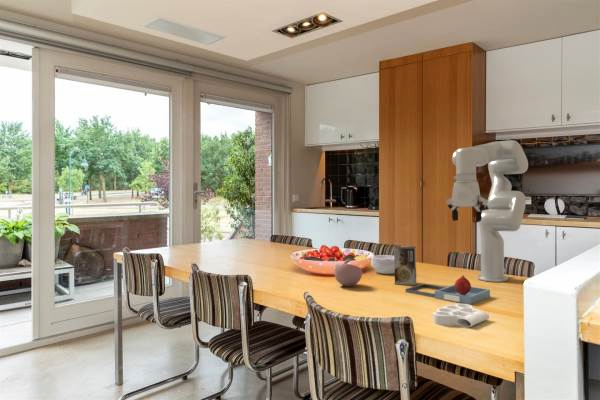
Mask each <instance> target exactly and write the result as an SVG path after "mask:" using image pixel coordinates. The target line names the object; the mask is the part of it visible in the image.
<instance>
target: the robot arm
mask: <svg viewBox="0 0 600 400" xmlns="http://www.w3.org/2000/svg"><path fill="white" fill-rule="evenodd" d="M451 161H452V164H453V165H454V166H455V167H456V170H455V172H456V174H455V175H454V176H453V180H455V181H456V182H455V181H454V183H453V187H452V194H451V195H452V196H451V197H449V198H447V199H446V200H445V203H446V204H447V207H448V209H450V211H451V218H452V221H454V222H456V221H459V211H458V210H459V207H460V208H464V207H465V208H472V207H473V208H474V209H475V210H476V211H475V222H476V223H478V226H479V233H480V274H478V275H477V279H478V280H481V281H484V282H492V283H501V282H507V281H508V280H509V279H508V276H505V273H506V272H507V270H506V268H505V246H504V244H505V241H504V238H503V236H502V235H501V234H500V232H517V231H518V230H519V229H520V228H521V225H522V222H523V217H524V214H525V211H526V203H527V202H526V201H527V200H526V199H527V198H526V195H525V194H524V193H523V192H522V191H519V190H512V187H513V186H512V183H511V181H510V180H509V179H508V178H507V177H506V176H504V175H518V174H520V175H521V174H524V173H525V172H527V171H528V168H529V161H528V158H527V156H526V154H525V151H524V149H523V147H522V145H521V144H520V143H519V142H518V141H516V140H514V139H513V140H512V139H511V140H510V139H509V140H501V141H500V140H499V141H491V142H488V143H484V144H479V145H474V146H470V147H461V148H458V149H456V150H455V151H454V152H453V153H452V157H451ZM486 165H487V168H488V172H489V173H488V174H489V177H490V181H491V188H490V191H489V194H488V198H487V199H486V198H484V197H482V196H481V192H480V186H479V182H478V181H477V167H483V166H486ZM481 202H482V204H481ZM486 207H487V208H488V209H486Z"/></svg>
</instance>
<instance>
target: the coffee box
mask: <svg viewBox="0 0 600 400" xmlns="http://www.w3.org/2000/svg"><path fill="white" fill-rule="evenodd" d="M416 250H417V249H416V246H406V245H405V246H404V245H403V246H402V245H401V246H400V245H397V246H396V245H395V246H394V248H393V256H394V271H395V273H394V285H405V286H409V285H410V286H417V285H416V284H417V256H416V255H417V254H416V253H417V252H416Z"/></svg>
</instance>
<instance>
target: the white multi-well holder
mask: <svg viewBox="0 0 600 400" xmlns="http://www.w3.org/2000/svg"><path fill="white" fill-rule="evenodd" d="M432 314H433V315H432V320H433V321H432V322H433V323H434V324H435V325H438V326H443V327H444V326H446V327H448V326H459V327H462V328H465V329H466V328H467V329H468V328H472V327H473V326H475V325H478V324H481V323H482V322H484V321H487V320H490V316H489V313H487V312H486V311H484V310H481V309H478V308H474V306H473V305H472V304H471V305H468V304H462V303H455V304H449V305H444V306H442V307H438V308H437V309H436V311H433V312H432ZM469 324H470V325H469Z"/></svg>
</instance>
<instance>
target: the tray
mask: <svg viewBox="0 0 600 400" xmlns="http://www.w3.org/2000/svg"><path fill="white" fill-rule="evenodd" d="M444 287H445V288H442V289H435V290H434V294H435V297H434V299H436V300H441V301H442V300H443V301H446V302H447V301H448V302H452V303H456V304H468V305H471V306H472V305H474V304H476V303H479V302H481V301H483V300H486V299H489V298H490V297H491V290H490V289H489V288H482V287H476V286H471V290H470V292H468V293H467V294H466V295H465V296H464V295H460V294H459V293H458V292H457V291H456V289H455V284H452V285H449V286H444Z"/></svg>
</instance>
